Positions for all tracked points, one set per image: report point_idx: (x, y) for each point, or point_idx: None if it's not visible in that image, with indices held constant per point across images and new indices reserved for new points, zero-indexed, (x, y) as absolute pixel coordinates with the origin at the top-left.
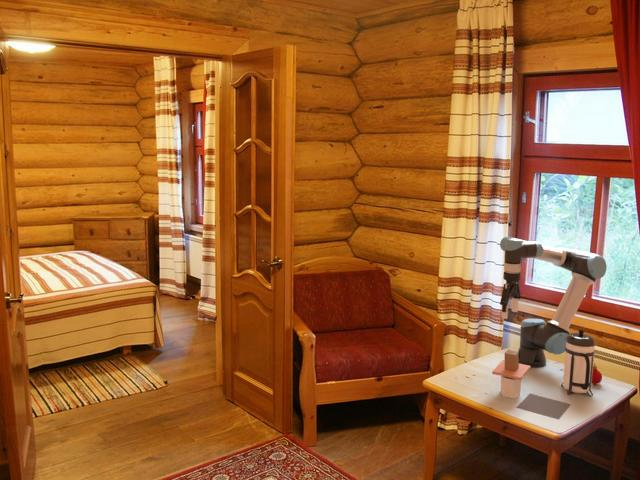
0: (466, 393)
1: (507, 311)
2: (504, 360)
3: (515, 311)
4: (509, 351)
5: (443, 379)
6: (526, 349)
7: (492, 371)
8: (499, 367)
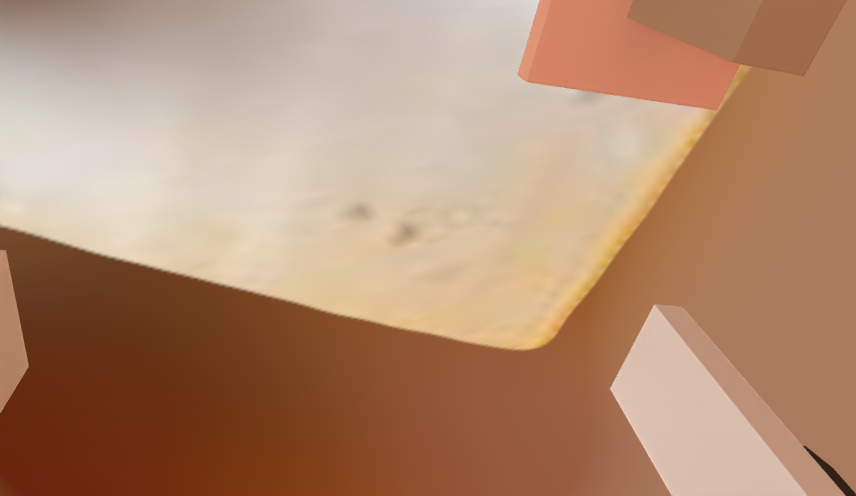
0: (618, 181)
1: (782, 433)
2: (534, 65)
3: (6, 296)
4: (778, 34)
5: (487, 311)
6: None
7: (717, 108)
8: (660, 75)
